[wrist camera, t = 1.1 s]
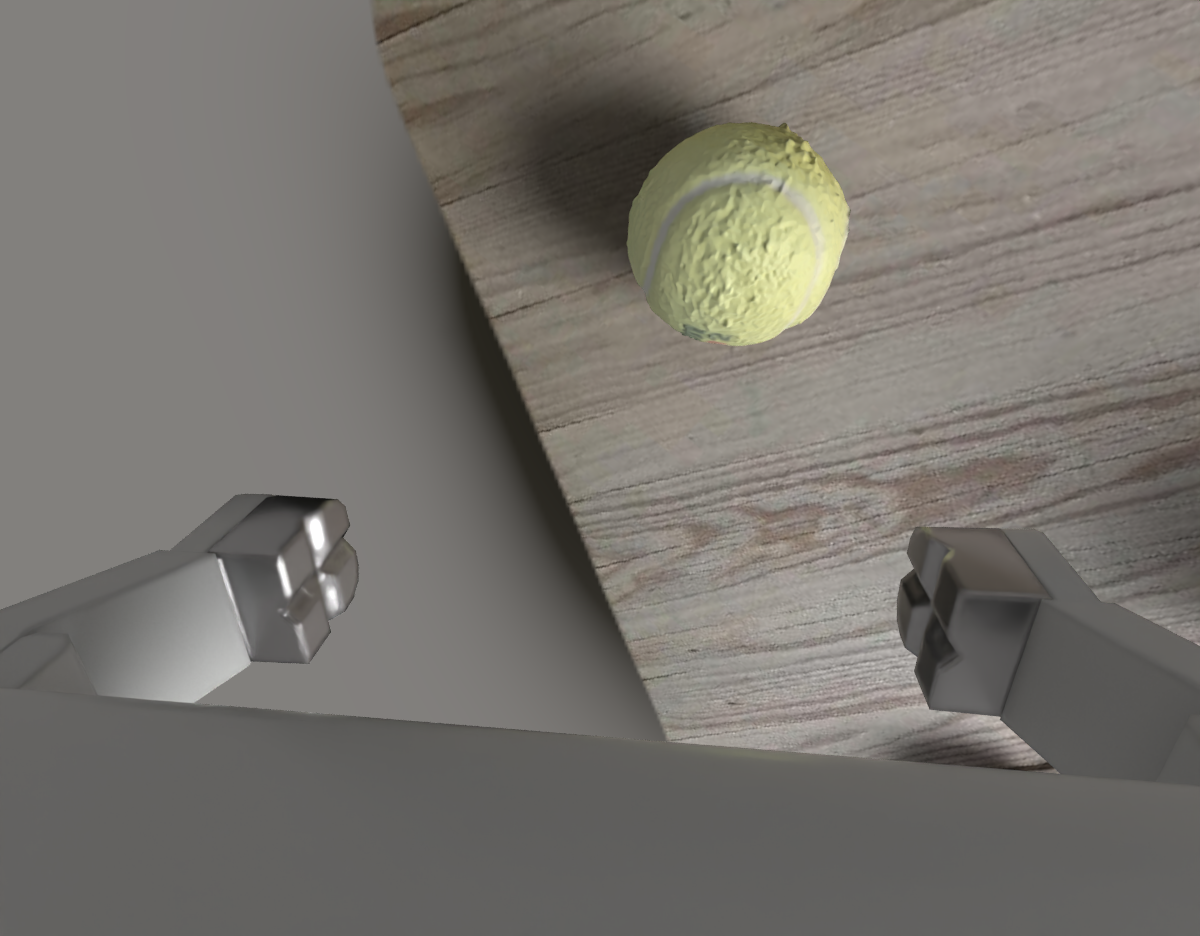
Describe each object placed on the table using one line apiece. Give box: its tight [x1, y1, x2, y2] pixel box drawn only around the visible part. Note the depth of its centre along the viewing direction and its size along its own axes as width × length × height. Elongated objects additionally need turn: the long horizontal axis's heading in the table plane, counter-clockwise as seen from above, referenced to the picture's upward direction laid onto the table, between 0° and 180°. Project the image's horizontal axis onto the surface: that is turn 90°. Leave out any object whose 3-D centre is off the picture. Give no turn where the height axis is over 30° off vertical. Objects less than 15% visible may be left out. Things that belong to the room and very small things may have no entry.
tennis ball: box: [626, 122, 851, 346], centre depth 21 cm, size 6×7×7 cm
